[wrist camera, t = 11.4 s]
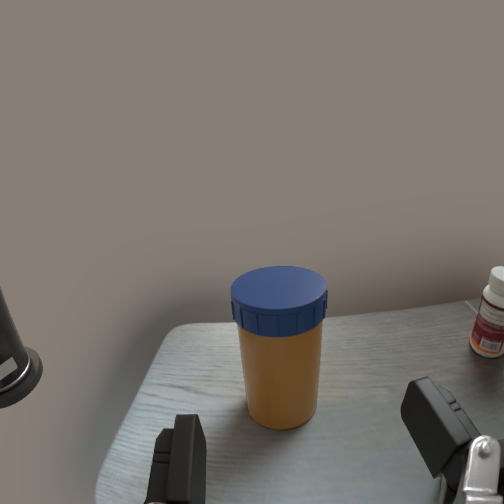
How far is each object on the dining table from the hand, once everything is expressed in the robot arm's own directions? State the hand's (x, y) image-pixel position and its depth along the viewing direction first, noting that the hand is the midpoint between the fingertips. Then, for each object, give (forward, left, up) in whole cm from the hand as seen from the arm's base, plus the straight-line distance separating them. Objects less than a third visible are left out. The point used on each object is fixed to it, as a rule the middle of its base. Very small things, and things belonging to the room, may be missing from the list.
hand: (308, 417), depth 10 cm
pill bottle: (+23, +10, -11) cm, 28 cm away
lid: (+1, +10, 0) cm, 10 cm away
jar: (+1, +10, -10) cm, 14 cm away
